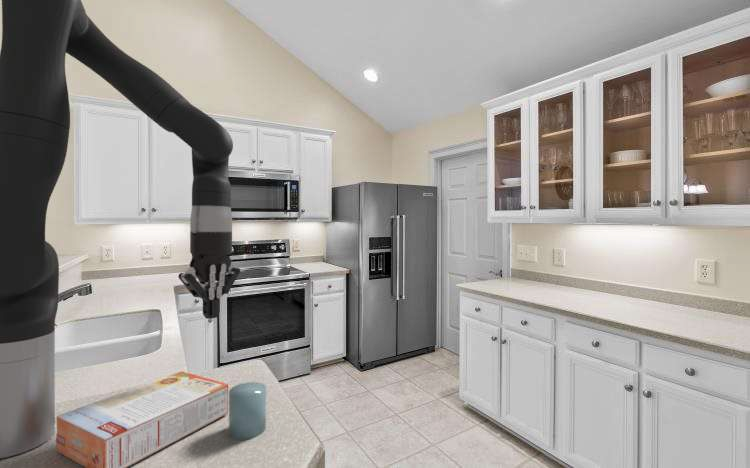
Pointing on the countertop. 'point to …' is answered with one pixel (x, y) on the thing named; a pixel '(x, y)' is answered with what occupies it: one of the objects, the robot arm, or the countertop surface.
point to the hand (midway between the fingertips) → (211, 317)
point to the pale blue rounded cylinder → (247, 410)
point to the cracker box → (140, 420)
